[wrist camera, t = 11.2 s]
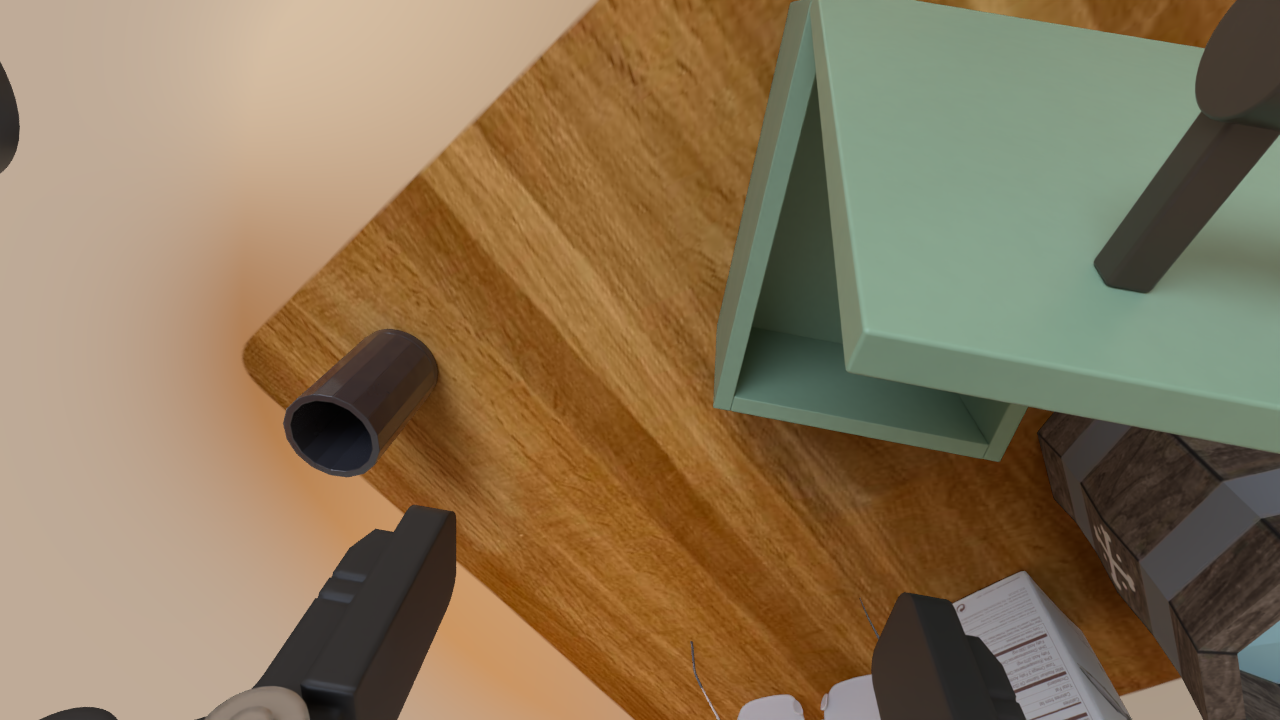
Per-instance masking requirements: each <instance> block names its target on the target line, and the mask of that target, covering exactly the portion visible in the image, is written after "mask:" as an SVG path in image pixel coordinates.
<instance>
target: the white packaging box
mask: <svg viewBox="0 0 1280 720" xmlns="http://www.w3.org/2000/svg"><path fill="white" fill-rule="evenodd" d="M953 606H954V608H955V610H956V612H957V615H958V617H959V620H960V622H961V625H962V627H963V630H964V632H965V635H970V636H976V637H979V638H980V639H981V640H982V641H983V642H984V644H985V645H986V646H987V647H988V648H989V650H990V651H991V652H992V653H993V655H994V656H995V657H996V658H997V659H998V661H999V662H1000V663H1001V664H1002V665H1003V667H1004V670H1005V672H1006V674H1007V677H1008V679H1009V681H1010V683H1011V686H1012V688H1013V690H1014V692H1015V695H1016V702H1018V703H1019V704H1020V706H1021V708H1022V711H1023V713H1024V715H1025V718H1026V720H1132V719H1131V717H1130V715H1129V713H1128V711H1127V709H1126V708H1125V706H1124V704H1123V702H1122V701H1121V699H1120V697H1119V695H1118V694H1117V692H1116V690H1115V688H1114V687H1113V685H1112V683H1111V681H1110V680H1109V678H1108V676H1107V674H1106V672H1105V671H1104V669H1103V667H1102V665H1101V663H1100V662H1099V660H1098V658H1097V657H1096V655H1095V653H1094V651H1093V650H1092V648H1091V646H1090V644H1089V643H1088V641H1087V639H1086V637H1085V636H1084V634H1083V632H1082V631H1081V630H1080V629H1079V628H1078V627H1077V626H1076V625H1075V624H1074V623H1073V622H1072V621H1071V620H1070V619H1069V618H1068V617H1067V616H1066V615H1065V614H1064V613H1063V612H1062V611H1061V610H1060V609H1059V608H1058V607H1057V606H1056V605H1055V604H1054V603H1053V602H1052V601H1051V600H1050V598H1049V597H1048V596H1047V595H1046V594H1045V593H1044V592H1043V591H1042V590H1041V589H1040V587H1039V586H1038V585H1037V584H1036V583H1035V582H1034V580H1033V579H1032V578H1031V577H1030V576H1029V575H1028V573H1027V572H1026V571H1020V572H1018V573H1016V574H1014V575H1012V576H1009V577H1007V578H1005V579H1003V580H1001V581H999V582H997V583H994V584H992V585H990V586H988V587H986V588H984V589H982V590H980V591H978V592H975V593H973V594H971V595H969V596H967V597H965V598H963V599H961V600H959V601H957V602H955V603H953Z"/></svg>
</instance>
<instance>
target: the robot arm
mask: <svg viewBox="0 0 1280 720" xmlns="http://www.w3.org/2000/svg"><path fill="white" fill-rule="evenodd" d="M455 577H456V515H455V513H454V512H453V511H447V510H442V509H436V508H430V507H424V506H419V505H412V506H410V507H409V509H408V510H407V511H406V513H405V515H404V516H403V518H402V520H401V521H400V523H399V524H398V526H397V528H396V529H395V531H394V532H390V531H385V530H379V529H375V530H374V531H372V532H371V533H369V534H368V535H367V536H365V537H364V538H363V539H361V540H360V541H358V542H357V543H356V544H354V545H353V546H352V547H350V548H349V550H348V551H347V553H346V554H345V556H344V557H343V559H342V560H341V561H340V563H339V565H338V566H337V567H336V569H335V570H334V572H333V576H332V577H331V578H329V579H328V581H327V582H326V583H325V585H324V587H323V588H322V589H321V591H320V592H319V596H318V598H315V600H314V601H313V603H312V604H311V606H310V607H309V609H308V610H307V612H306V613H305V614H304V616H303V617H302V619H301V620H300V622H299V623H298V625H297V626H296V628H295V629H294V631H293V632H292V633H291V635H290V637H289V638H288V639H287V641H286V642H285V644H284V645H283V647H282V648H281V650H280V651H279V653H278V654H277V656H276V657H275V659H274V660H273V661H272V663H271V664H270V666H269V667H268V669H267V670H266V672H265V673H264V675H263V676H262V677H261V679H260V680H259V681H258V682H257V684H256V685H255V686H254V687H253V688H252V689H250V690H247V691H244V692H242V693H239V694H237V695H235V696H233V697H231V698H230V699H228V700H226V701H225V702H223V703H222V704H220V705H219V706H218V707H216V708H215V709H214V710H213V711H212V712H211V713H210V714H209V715H208V716H206V717H203V718H200V719H197V720H397V719H398V717H399V714H400V712H401V710H402V708H403V706H404V703H405V701H406V699H407V697H408V695H409V692H410V690H411V688H412V686H413V683H414V681H415V679H416V677H417V674H418V672H419V670H420V668H421V666H422V663H423V661H424V659H425V656H426V654H427V652H428V650H429V648H430V645H431V643H432V641H433V639H434V636H435V634H436V632H437V630H438V627H439V625H440V623H441V621H442V619H443V616H444V614H445V612H446V610H447V607H448V605H449V602H450V599H451V596H452V592H453V588H454V584H455ZM872 683H873V688H874V693H875V697H876V701H877V705H878V710H879V714H880V718H881V720H1026V718H1025V715H1024V713H1023V711H1022V708H1021V706H1020V704H1019V703H1018V702H1016V695H1015V692H1014V690H1013V688H1012V686H1011V683H1010V681H1009V679H1008V677H1007V674H1006V672H1005V670H1004V667H1003V665H1002V664H1001V663H1000V662H999V661H998V659H997V658H996V657H995V656H994V655H993V653H992V652H991V651H990V650H989V648H988V647H987V646H986V645H985V644H984V642H983V641H982V640H981V639H980V638H979V637H976V636H970V635H965V632H964V630H963V627H962V625H961V622H960V620H959V617H958V615H957V612H956V610H955V608H954V606H953V604H952V603H951V602H950V601H949V600H946V599H940V598H935V597H929V596H923V595H918V594H912V593H906V592H904V593H902V594H901V595H900V596H899V597H898V599H897V601H896V603H895V605H894V607H893V610H892V612H891V614H890V616H889V618H888V620H887V623H886V625H885V627H884V629H883V631H882V633H881V636H880V638H879V640H878V642H877V644H876V647H875V649H874V653H873V658H872ZM40 720H117V719H116V717H115V716H114V715H112V714H111V713H110V712H108V711H106V710H103V709H99V708H94V707H80V708H73V709H68V710H64V711H60V712H57V713H54V714H51V715H49V716H47V717H45V718H42V719H40Z"/></svg>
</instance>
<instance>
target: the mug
mask: <svg viewBox="0 0 1280 720" xmlns="http://www.w3.org/2000/svg"><path fill="white" fill-rule="evenodd" d="M1037 434H1038V438H1039V442H1040V446H1041V450H1042V454H1043V458H1044V462H1045V466H1046V469H1047V473H1048V477H1049V481H1050V485H1051V489H1052V493H1053V497H1054V499H1055V500H1056V501H1057V503H1058V504H1059V505H1060V506H1061V507H1062V508H1063V509H1064V510H1065V511H1066V512H1067V513H1068V514H1069V515H1070V517H1071V518H1072V519H1073V520H1074V521H1075V522H1076V523H1077V524H1078V526H1079V527H1080V529H1081V530H1082V532H1083V533H1084V535H1085V536H1086V538H1087V539H1088V541H1089V542H1090V543H1091V545H1092V546H1093V548H1094V549H1095V551H1096V553H1097V555H1098V556H1099V558H1100V560H1101V562H1102V564H1103V566H1104V568H1105V570H1106V571H1107V573H1108V575H1109V577H1110V579H1111V581H1112V583H1113V585H1114V586H1115V588H1116V590H1117V592H1118V593H1119V595H1120V596H1121V597H1122V598H1123V600H1124V601H1125V602H1126V603H1127V604H1128V606H1129V607H1130V608H1131V609H1132V610H1133V612H1134V613H1135V614H1136V615H1137V616H1138V618H1139V619H1140V620H1141V621H1142V622H1143V624H1144V625H1145V626H1146V627H1147V629H1148V630H1149V631H1150V632H1151V633H1152V635H1153V636H1154V637H1155V639H1156V640H1157V642H1158V643H1159V645H1160V646H1161V648H1162V649H1163V651H1164V652H1165V654H1166V655H1167V656H1168V658H1169V659H1170V661H1171V662H1172V664H1173V665H1174V667H1175V668H1176V670H1177V671H1178V673H1179V674H1180V676H1181V677H1182V679H1183V681H1184V683H1185V685H1186V687H1187V689H1188V691H1189V692H1190V694H1191V696H1192V698H1193V700H1194V702H1195V704H1196V706H1197V708H1198V710H1199V712H1200V714H1201V716H1202V718H1203V720H1280V454H1278V453H1272V452H1267V451H1262V450H1256V449H1251V448H1246V447H1240V446H1235V445H1230V444H1224V443H1219V442H1214V441H1208V440H1203V439H1198V438H1192V437H1187V436H1182V435H1176V434H1171V433H1166V432H1160V431H1155V430H1150V429H1145V428H1139V427H1134V426H1129V425H1123V424H1118V423H1113V422H1107V421H1102V420H1097V419H1091V418H1086V417H1081V416H1075V415H1070V414H1065V413H1059V412H1054V413H1053V414H1052V415H1051V417H1050V418H1049V419H1048V420H1047V421H1046V423H1045V424H1044V425H1043V426H1042V428H1041V429H1040V430H1039V431H1038V433H1037Z"/></svg>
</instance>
